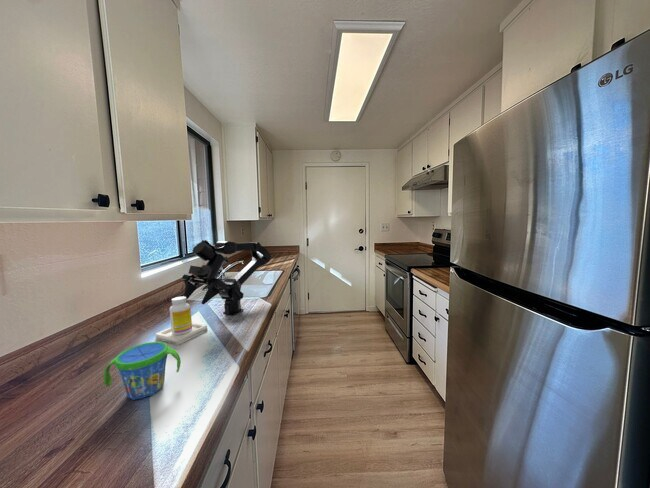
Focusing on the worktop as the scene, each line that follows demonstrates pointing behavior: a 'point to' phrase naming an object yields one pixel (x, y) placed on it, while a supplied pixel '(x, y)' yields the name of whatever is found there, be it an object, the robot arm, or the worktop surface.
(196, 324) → the tray
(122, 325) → the worktop surface
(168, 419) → the worktop surface
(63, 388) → the worktop surface
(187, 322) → the supplement bottle
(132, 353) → the snack cup
